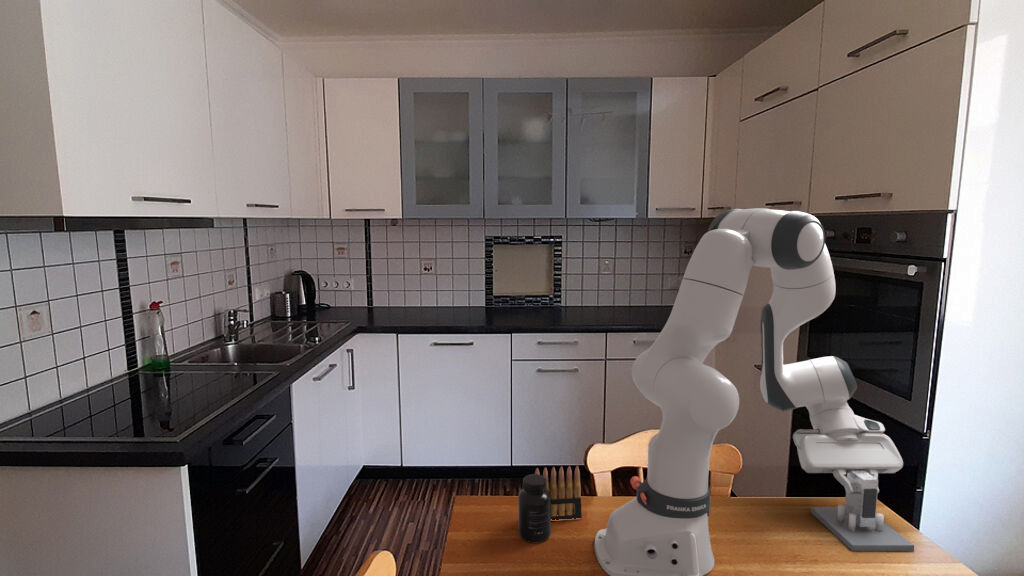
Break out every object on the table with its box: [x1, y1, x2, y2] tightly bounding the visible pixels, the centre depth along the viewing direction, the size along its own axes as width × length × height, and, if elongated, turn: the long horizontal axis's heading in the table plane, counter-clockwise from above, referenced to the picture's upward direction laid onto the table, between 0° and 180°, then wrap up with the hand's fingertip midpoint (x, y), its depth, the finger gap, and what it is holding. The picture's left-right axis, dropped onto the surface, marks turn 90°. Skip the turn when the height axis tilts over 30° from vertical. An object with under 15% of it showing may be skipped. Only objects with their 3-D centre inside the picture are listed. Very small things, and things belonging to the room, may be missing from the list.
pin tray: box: [810, 503, 915, 552], centre depth 107 cm, size 12×14×4 cm
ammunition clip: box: [534, 465, 583, 520], centre depth 111 cm, size 11×2×12 cm, turn 98°
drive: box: [844, 469, 879, 527], centre depth 106 cm, size 3×5×10 cm, turn 0°
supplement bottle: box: [517, 473, 552, 543], centre depth 105 cm, size 7×7×12 cm
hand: (863, 493), depth 105 cm, fingers closed on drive, 3 cm apart
